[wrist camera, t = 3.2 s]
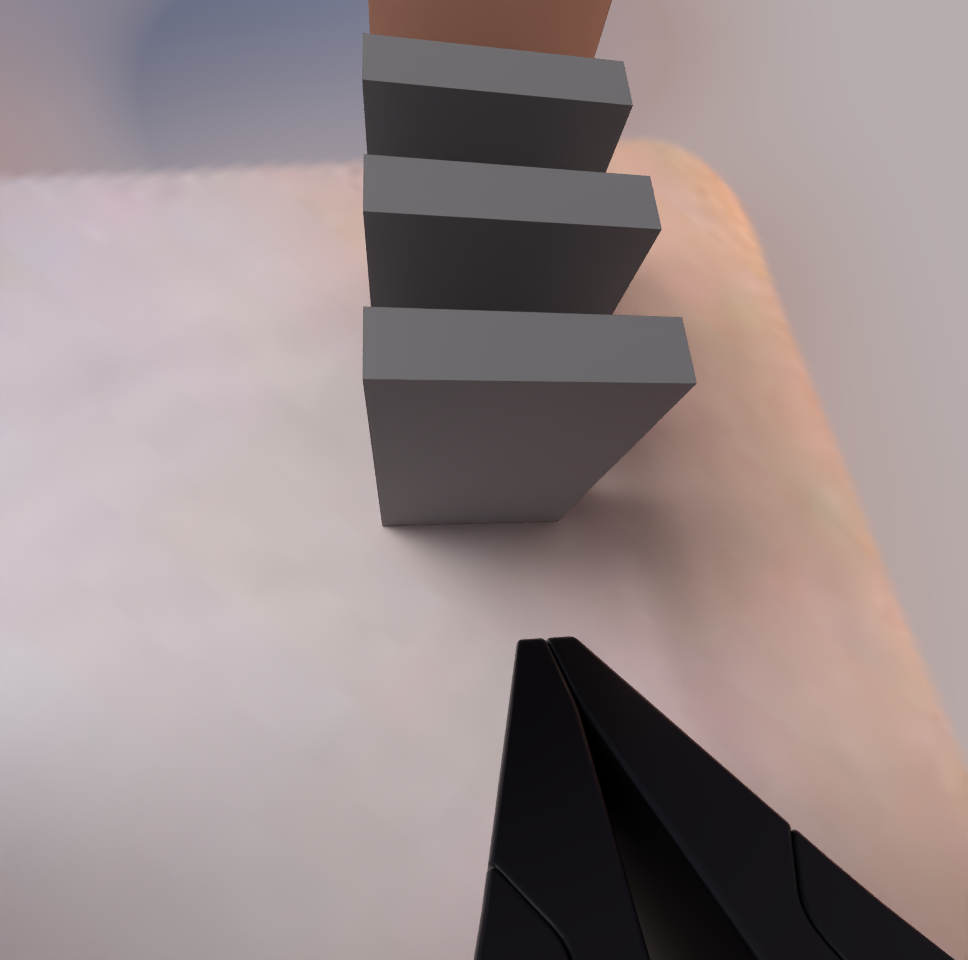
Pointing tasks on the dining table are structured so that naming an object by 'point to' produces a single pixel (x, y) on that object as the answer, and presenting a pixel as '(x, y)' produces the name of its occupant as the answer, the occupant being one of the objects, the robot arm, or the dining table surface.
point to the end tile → (496, 23)
